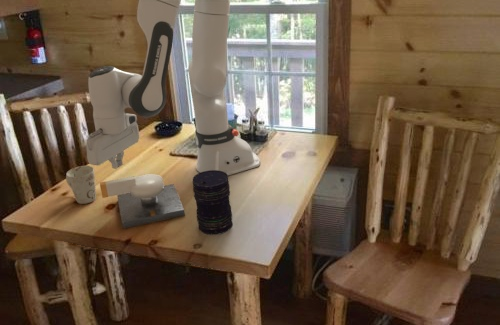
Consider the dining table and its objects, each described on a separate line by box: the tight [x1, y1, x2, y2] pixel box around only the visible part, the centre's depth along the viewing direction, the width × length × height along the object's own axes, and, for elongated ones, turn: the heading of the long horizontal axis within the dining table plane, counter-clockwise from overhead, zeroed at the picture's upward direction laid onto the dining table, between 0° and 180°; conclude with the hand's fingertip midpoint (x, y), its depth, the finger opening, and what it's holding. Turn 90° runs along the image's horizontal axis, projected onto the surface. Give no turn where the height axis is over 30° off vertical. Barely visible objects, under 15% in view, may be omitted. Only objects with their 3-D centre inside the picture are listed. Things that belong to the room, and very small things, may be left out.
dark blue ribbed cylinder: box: [192, 170, 233, 236], centre depth 138 cm, size 10×10×15 cm
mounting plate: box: [116, 183, 186, 229], centre depth 151 cm, size 18×18×6 cm
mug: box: [65, 165, 97, 205], centre depth 159 cm, size 8×13×10 cm, turn 58°
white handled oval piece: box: [99, 173, 165, 199], centre depth 148 cm, size 18×10×5 cm, turn 108°
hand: (117, 166), depth 150 cm, fingers closed
